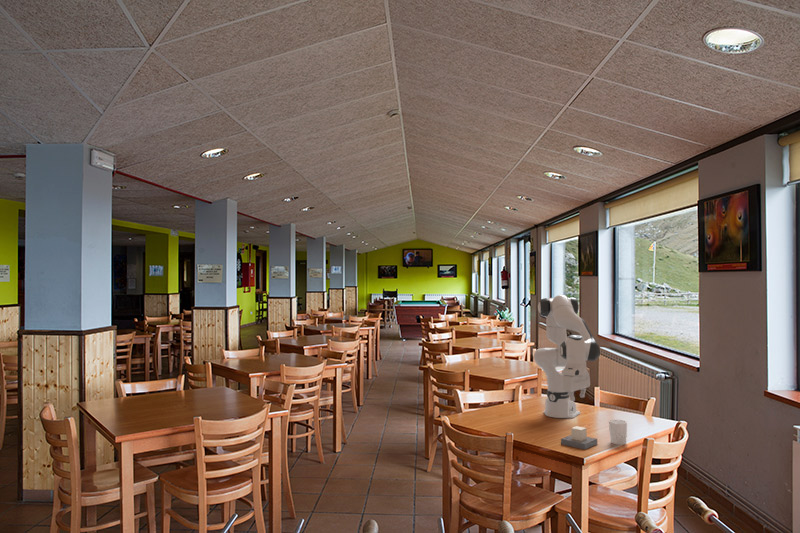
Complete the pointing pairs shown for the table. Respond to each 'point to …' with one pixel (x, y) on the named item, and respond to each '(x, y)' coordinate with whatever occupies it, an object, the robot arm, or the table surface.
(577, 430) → the cube
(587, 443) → the base
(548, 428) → the table surface
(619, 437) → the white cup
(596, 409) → the table surface
